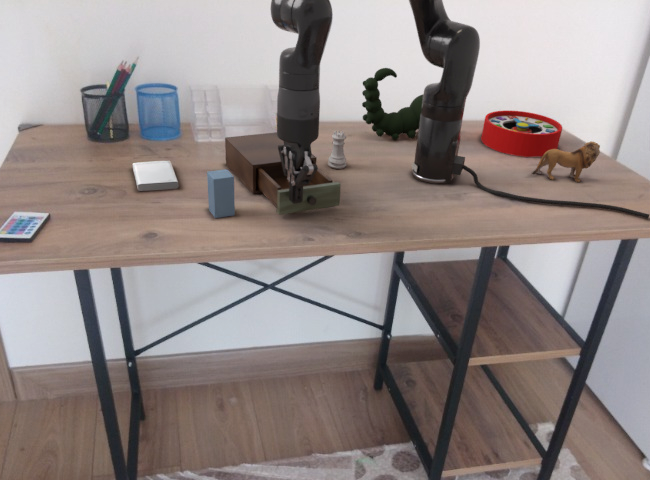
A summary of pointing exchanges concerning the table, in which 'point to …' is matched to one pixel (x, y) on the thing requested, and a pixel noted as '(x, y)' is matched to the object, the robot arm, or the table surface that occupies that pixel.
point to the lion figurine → (570, 159)
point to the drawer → (314, 194)
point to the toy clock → (520, 133)
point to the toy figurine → (392, 122)
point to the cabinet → (253, 156)
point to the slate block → (221, 193)
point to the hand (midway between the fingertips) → (295, 201)
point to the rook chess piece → (337, 151)
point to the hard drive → (154, 175)
